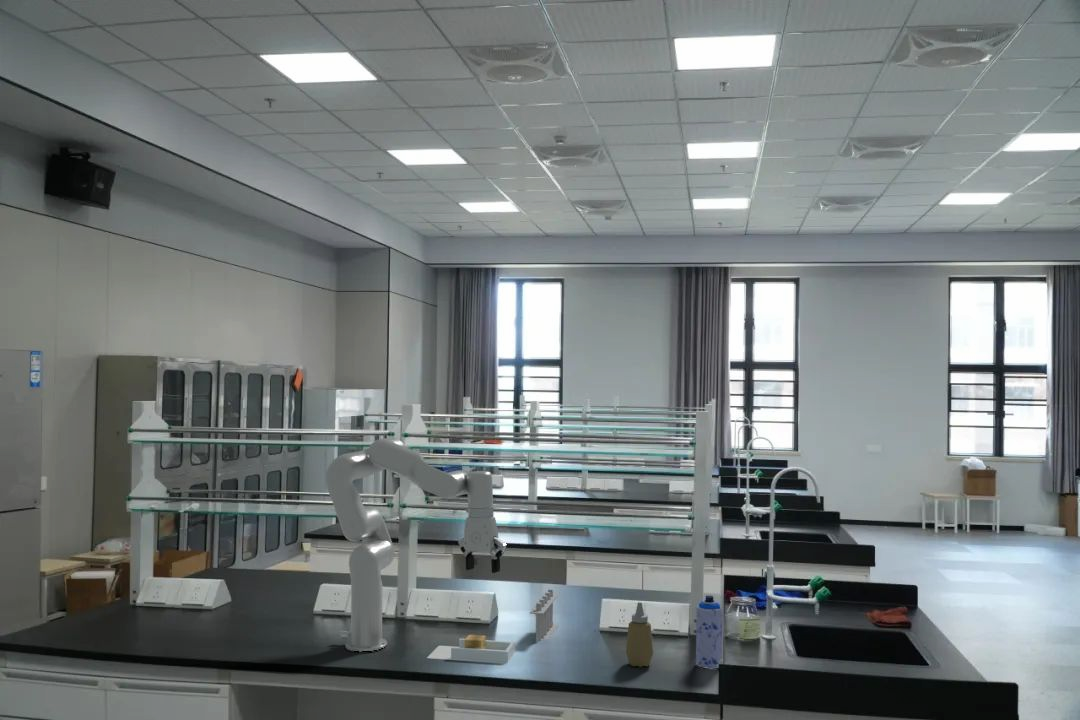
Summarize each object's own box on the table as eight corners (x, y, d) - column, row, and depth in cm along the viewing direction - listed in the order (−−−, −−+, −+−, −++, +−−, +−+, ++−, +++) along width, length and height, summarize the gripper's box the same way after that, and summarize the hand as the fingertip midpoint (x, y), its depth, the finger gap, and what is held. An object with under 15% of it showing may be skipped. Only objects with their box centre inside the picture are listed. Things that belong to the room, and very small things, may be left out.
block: (464, 656, 257) (464, 639, 257) (469, 651, 262) (469, 634, 262) (481, 657, 256) (481, 640, 256) (485, 652, 261) (485, 635, 261)
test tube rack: (545, 625, 295) (546, 586, 296) (558, 626, 294) (559, 587, 295) (528, 648, 271) (529, 605, 271) (542, 649, 270) (543, 606, 270)
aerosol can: (719, 660, 260) (719, 593, 261) (725, 669, 253) (726, 599, 253) (692, 660, 260) (693, 592, 260) (698, 669, 252) (699, 599, 253)
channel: (426, 663, 256) (426, 647, 256) (438, 650, 267) (439, 635, 268) (506, 669, 251) (506, 653, 251) (515, 655, 263) (515, 640, 263)
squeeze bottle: (650, 660, 260) (651, 599, 261) (655, 669, 252) (655, 606, 253) (623, 660, 260) (624, 599, 260) (627, 669, 252) (627, 606, 252)
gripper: (450, 513, 263) (452, 570, 263) (496, 516, 254) (498, 575, 253) (466, 509, 269) (468, 565, 269) (511, 512, 260) (513, 570, 259)
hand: (482, 570), depth 261 cm, fingers open, 9 cm apart
